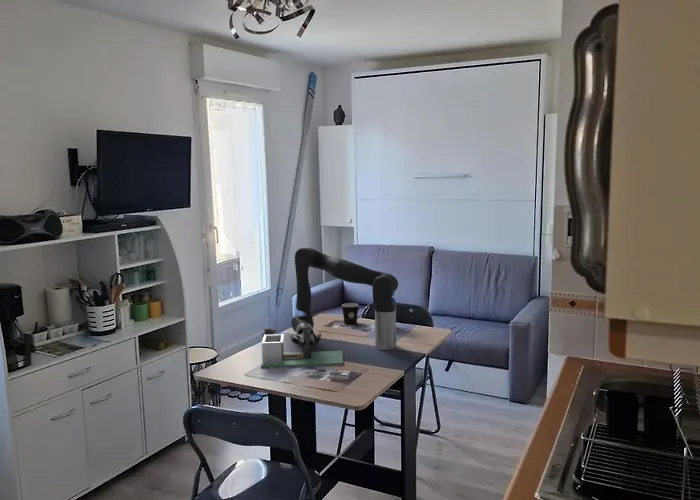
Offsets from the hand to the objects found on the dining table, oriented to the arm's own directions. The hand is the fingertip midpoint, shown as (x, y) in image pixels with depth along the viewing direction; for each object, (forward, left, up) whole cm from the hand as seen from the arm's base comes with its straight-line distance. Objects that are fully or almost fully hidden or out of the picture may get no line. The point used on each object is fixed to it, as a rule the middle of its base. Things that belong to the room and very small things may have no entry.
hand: (307, 343), depth 243 cm
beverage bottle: (-40, -49, -8) cm, 63 cm away
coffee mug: (-23, -59, -8) cm, 64 cm away
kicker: (+6, -3, -7) cm, 9 cm away
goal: (+15, -3, -7) cm, 16 cm away
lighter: (+17, -19, -8) cm, 27 cm away
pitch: (+2, -3, -8) cm, 9 cm away
